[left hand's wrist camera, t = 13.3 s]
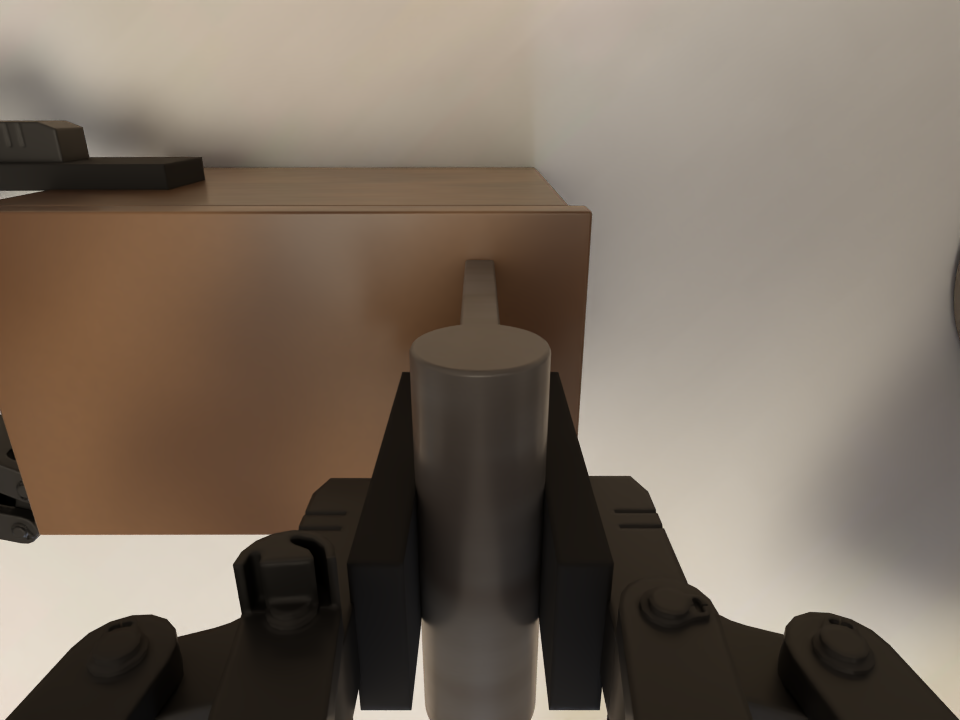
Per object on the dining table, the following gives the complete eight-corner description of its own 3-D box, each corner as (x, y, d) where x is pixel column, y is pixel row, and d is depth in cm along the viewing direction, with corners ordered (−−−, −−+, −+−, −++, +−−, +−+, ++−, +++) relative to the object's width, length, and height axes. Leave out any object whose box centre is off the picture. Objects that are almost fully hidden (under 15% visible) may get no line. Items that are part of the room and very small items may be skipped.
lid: (586, 205, 16) (688, 300, 8) (567, 514, 19) (626, 788, 12) (-33, 205, 16) (-523, 301, 8) (59, 515, 19) (-222, 790, 12)
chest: (535, 167, 26) (569, 205, 16) (528, 377, 29) (553, 514, 19) (162, 167, 26) (-32, 205, 16) (200, 377, 29) (60, 514, 19)
